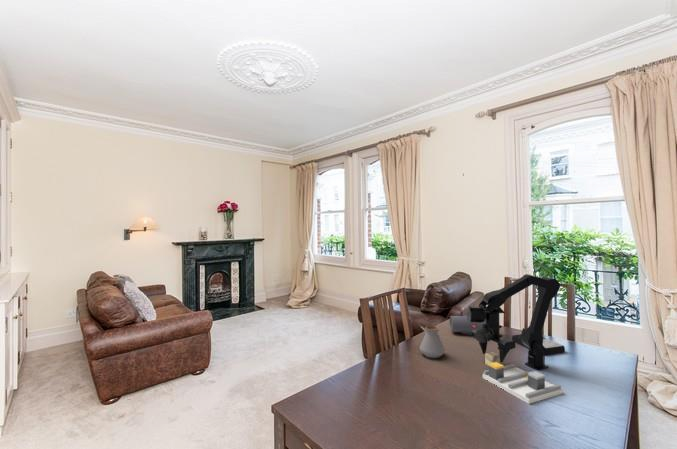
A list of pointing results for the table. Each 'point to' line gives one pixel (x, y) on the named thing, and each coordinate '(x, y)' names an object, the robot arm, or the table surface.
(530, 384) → the untagged breaker
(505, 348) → the robot arm
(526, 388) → the breaker panel
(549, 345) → the multimeter
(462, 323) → the bluetooth speaker
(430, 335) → the coffee pot
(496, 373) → the block
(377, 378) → the table surface
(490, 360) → the block
